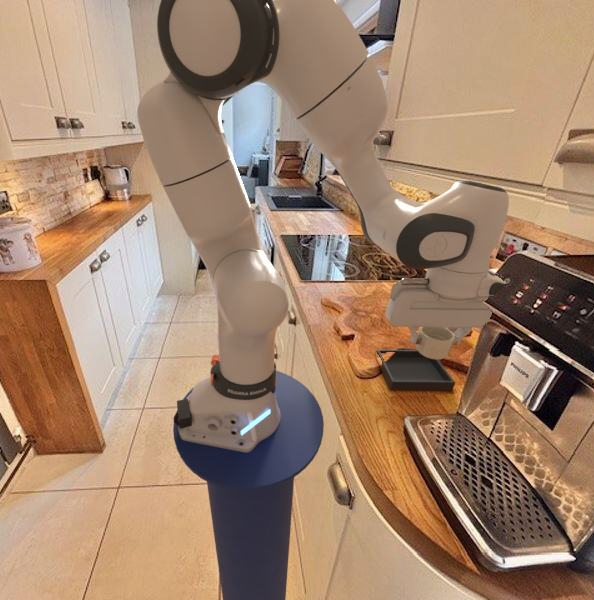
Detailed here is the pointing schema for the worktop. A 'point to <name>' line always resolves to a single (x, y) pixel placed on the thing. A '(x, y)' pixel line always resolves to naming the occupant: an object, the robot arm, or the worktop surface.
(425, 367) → the tray
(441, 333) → the cup
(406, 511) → the worktop surface
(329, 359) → the worktop surface
